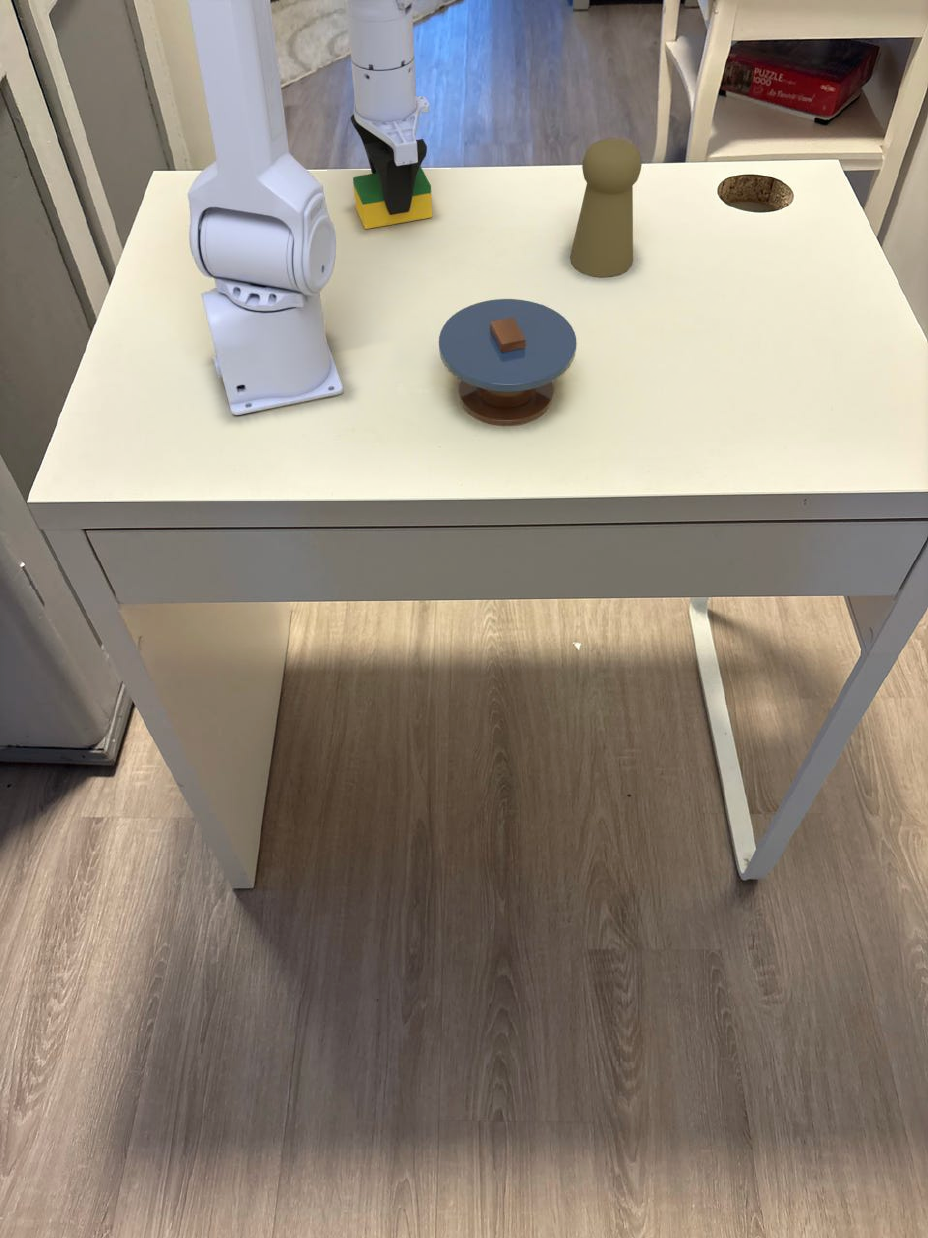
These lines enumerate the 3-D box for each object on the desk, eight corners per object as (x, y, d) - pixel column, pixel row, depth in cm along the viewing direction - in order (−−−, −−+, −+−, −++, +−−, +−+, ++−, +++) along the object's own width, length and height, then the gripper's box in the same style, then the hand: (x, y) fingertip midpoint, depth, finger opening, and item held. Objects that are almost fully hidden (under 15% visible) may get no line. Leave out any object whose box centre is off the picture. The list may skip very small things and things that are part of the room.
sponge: (365, 229, 98) (361, 197, 95) (355, 208, 100) (352, 176, 98) (432, 217, 99) (431, 185, 97) (421, 197, 102) (420, 165, 99)
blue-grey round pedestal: (462, 450, 79) (461, 396, 74) (425, 366, 85) (422, 312, 81) (591, 422, 80) (597, 368, 76) (545, 342, 87) (548, 288, 82)
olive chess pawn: (632, 242, 96) (648, 129, 87) (633, 278, 93) (649, 164, 84) (571, 239, 97) (580, 127, 88) (568, 275, 93) (578, 162, 84)
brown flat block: (501, 353, 77) (501, 343, 77) (489, 331, 79) (489, 321, 78) (525, 348, 78) (526, 338, 77) (513, 326, 79) (513, 316, 79)
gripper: (448, 85, 84) (451, 231, 95) (404, 17, 93) (412, 158, 104) (368, 97, 83) (381, 243, 94) (331, 27, 92) (347, 169, 102)
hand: (393, 200), depth 99 cm, fingers closed on sponge, 4 cm apart
